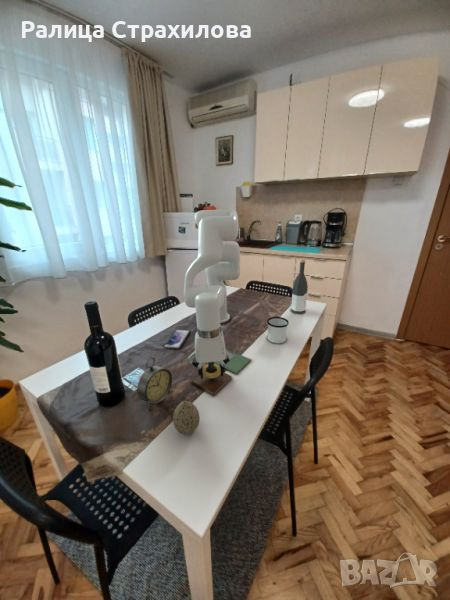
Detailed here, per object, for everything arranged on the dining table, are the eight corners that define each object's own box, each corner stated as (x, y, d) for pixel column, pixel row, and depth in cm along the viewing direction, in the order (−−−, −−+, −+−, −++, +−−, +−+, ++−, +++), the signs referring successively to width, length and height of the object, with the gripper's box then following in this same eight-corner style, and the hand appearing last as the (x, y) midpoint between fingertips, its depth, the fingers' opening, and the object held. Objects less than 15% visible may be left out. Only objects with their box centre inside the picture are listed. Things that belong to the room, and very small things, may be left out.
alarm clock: (150, 415, 72) (141, 371, 66) (138, 407, 74) (128, 365, 68) (175, 391, 80) (169, 351, 74) (163, 386, 83) (157, 346, 77)
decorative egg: (200, 417, 70) (197, 391, 67) (200, 439, 64) (198, 411, 60) (175, 420, 70) (171, 394, 66) (173, 442, 63) (169, 415, 59)
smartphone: (163, 346, 104) (176, 329, 118) (164, 348, 105) (176, 331, 118) (179, 347, 103) (189, 330, 117) (179, 349, 103) (190, 331, 117)
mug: (285, 346, 104) (286, 327, 100) (264, 342, 107) (264, 324, 104) (289, 333, 114) (291, 316, 110) (270, 329, 117) (271, 313, 114)
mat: (196, 355, 99) (196, 354, 99) (212, 344, 106) (212, 343, 106) (236, 374, 88) (236, 372, 87) (250, 360, 95) (250, 359, 95)
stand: (192, 383, 84) (190, 364, 81) (210, 368, 91) (209, 350, 88) (214, 395, 78) (212, 376, 75) (231, 378, 85) (231, 360, 82)
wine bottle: (293, 306, 142) (298, 256, 130) (307, 310, 137) (313, 258, 126) (288, 311, 136) (292, 259, 124) (302, 315, 131) (308, 261, 120)
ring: (198, 373, 83) (198, 370, 82) (210, 364, 87) (210, 361, 87) (212, 380, 79) (212, 378, 79) (224, 370, 84) (224, 367, 83)
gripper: (233, 322, 81) (234, 365, 88) (182, 327, 79) (187, 370, 86) (237, 333, 74) (237, 379, 81) (181, 339, 72) (186, 385, 79)
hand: (211, 374), depth 84 cm, fingers closed on ring, 6 cm apart
